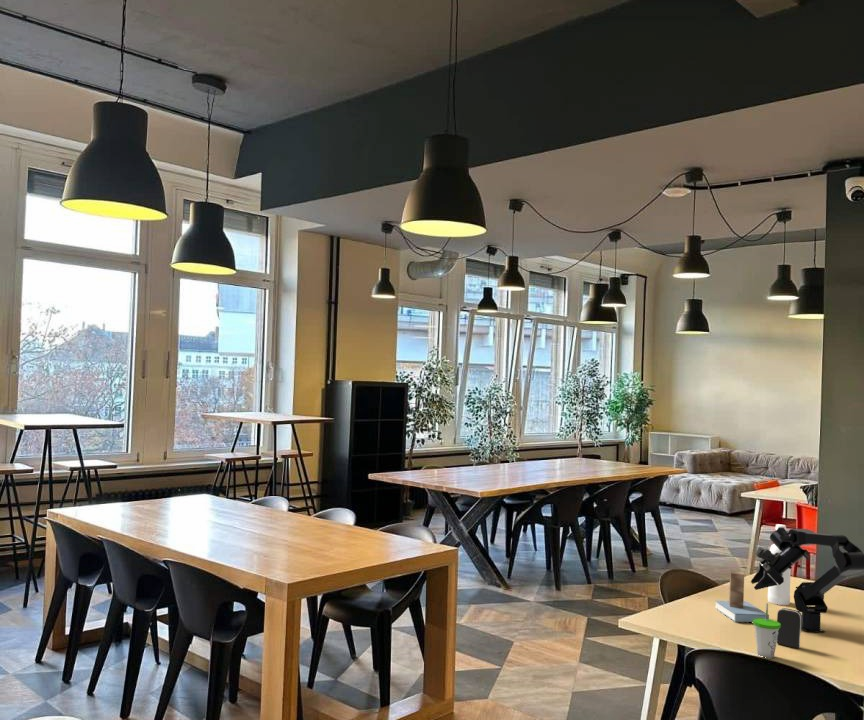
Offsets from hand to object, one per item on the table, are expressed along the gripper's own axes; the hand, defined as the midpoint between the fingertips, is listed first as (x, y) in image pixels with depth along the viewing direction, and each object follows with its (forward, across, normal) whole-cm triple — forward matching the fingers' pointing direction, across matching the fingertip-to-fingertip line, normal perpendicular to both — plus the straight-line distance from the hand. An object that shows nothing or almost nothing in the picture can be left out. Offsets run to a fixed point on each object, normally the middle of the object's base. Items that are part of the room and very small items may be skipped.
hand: (753, 585), depth 280 cm
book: (+10, +1, +5) cm, 12 cm away
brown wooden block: (+10, -1, +2) cm, 10 cm away
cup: (+9, +46, +7) cm, 47 cm away
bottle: (-1, -26, +17) cm, 31 cm away
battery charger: (+3, +31, +13) cm, 34 cm away
